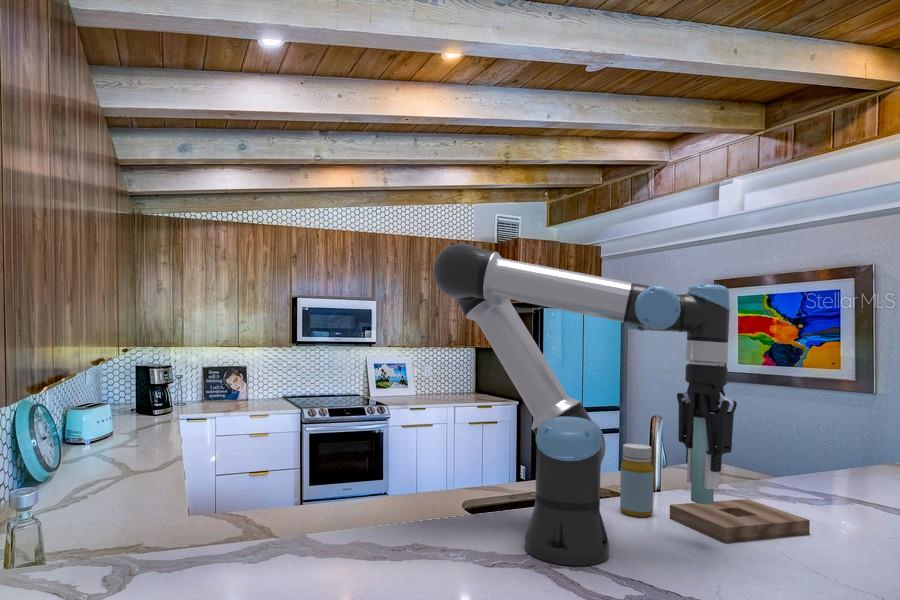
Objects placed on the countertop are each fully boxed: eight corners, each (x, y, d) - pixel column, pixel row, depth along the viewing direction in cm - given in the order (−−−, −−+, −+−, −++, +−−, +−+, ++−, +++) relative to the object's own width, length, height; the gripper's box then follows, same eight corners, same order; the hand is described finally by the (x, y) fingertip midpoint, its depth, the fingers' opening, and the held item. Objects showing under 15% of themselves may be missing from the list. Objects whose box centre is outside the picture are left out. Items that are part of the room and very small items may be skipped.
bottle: (654, 519, 128) (655, 449, 129) (621, 516, 130) (622, 447, 131) (650, 510, 135) (651, 444, 136) (619, 507, 137) (620, 442, 138)
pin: (701, 504, 111) (704, 419, 112) (686, 498, 115) (689, 416, 116) (718, 504, 112) (720, 419, 113) (702, 498, 116) (705, 416, 117)
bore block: (725, 543, 114) (725, 527, 115) (669, 518, 130) (669, 504, 130) (809, 534, 122) (809, 520, 122) (747, 512, 137) (747, 499, 137)
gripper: (757, 367, 108) (753, 496, 107) (690, 361, 124) (686, 473, 123) (724, 366, 106) (720, 498, 104) (661, 360, 122) (657, 474, 120)
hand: (702, 484), depth 114 cm, fingers closed on pin, 4 cm apart
